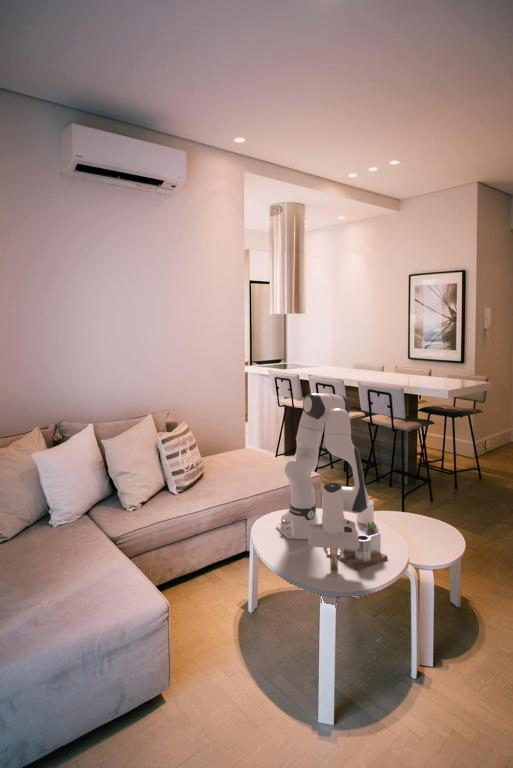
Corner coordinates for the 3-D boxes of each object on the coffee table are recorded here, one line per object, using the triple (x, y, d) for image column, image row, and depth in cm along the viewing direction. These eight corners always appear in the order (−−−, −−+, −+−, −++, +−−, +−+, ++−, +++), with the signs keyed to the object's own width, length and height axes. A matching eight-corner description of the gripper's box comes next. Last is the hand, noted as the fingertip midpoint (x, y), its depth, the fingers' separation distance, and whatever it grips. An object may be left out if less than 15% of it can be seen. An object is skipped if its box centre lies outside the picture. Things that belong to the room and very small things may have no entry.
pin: (328, 568, 188) (328, 539, 186) (334, 566, 189) (333, 537, 188) (333, 571, 185) (333, 542, 184) (339, 569, 187) (338, 540, 185)
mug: (349, 517, 240) (349, 497, 239) (363, 514, 242) (363, 495, 241) (362, 525, 228) (362, 505, 227) (377, 523, 231) (376, 503, 230)
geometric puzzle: (383, 536, 210) (378, 519, 214) (369, 538, 208) (364, 521, 212) (377, 540, 216) (371, 523, 220) (363, 542, 214) (358, 525, 218)
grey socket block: (340, 552, 198) (340, 531, 197) (363, 544, 205) (362, 524, 204) (362, 564, 187) (362, 542, 186) (385, 555, 194) (385, 534, 193)
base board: (335, 557, 197) (335, 553, 197) (363, 547, 205) (363, 543, 205) (359, 570, 185) (359, 566, 185) (387, 559, 193) (387, 555, 193)
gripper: (306, 526, 185) (307, 559, 186) (359, 529, 180) (359, 563, 181) (308, 520, 191) (308, 552, 192) (359, 522, 186) (359, 556, 187)
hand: (333, 557), depth 187 cm, fingers closed on pin, 3 cm apart
